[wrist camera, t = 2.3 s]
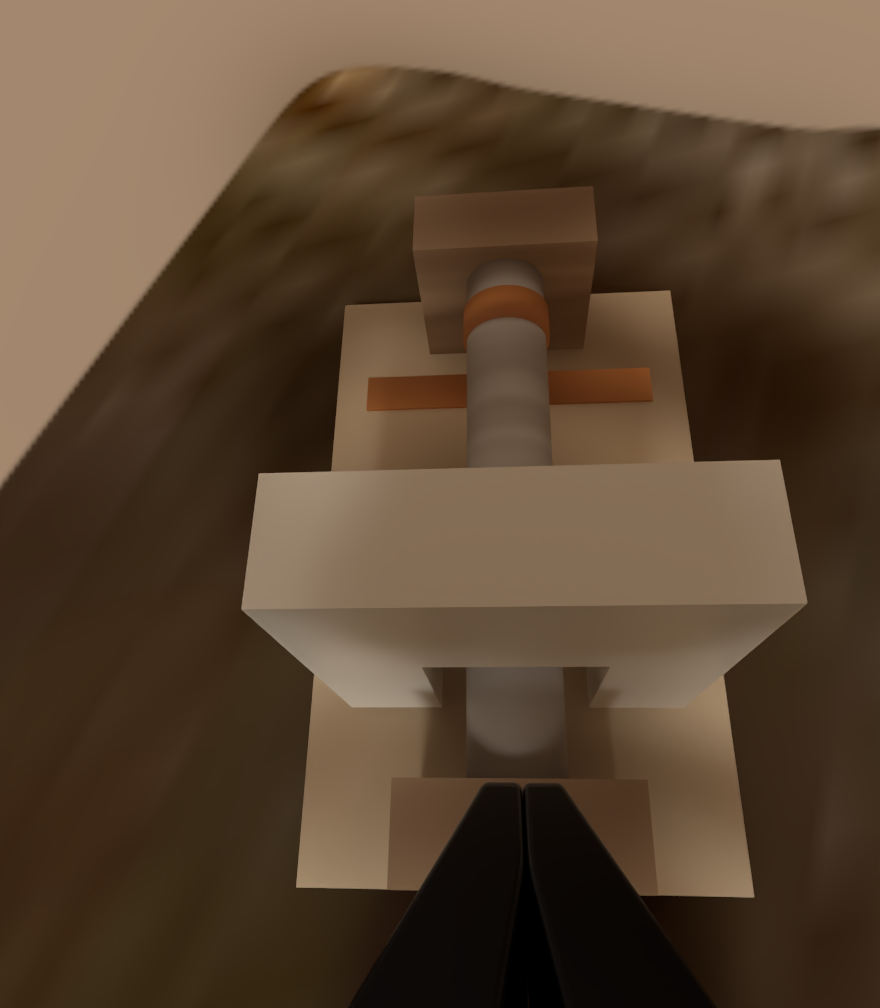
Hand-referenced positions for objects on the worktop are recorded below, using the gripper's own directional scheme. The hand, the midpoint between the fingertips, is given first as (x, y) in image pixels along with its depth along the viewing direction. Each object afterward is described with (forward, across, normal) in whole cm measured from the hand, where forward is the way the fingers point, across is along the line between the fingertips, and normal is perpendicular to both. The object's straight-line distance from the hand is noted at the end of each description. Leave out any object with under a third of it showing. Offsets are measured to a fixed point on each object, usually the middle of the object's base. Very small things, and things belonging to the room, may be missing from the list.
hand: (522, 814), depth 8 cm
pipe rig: (+15, 0, +4) cm, 15 cm away
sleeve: (+11, 0, +5) cm, 12 cm away
